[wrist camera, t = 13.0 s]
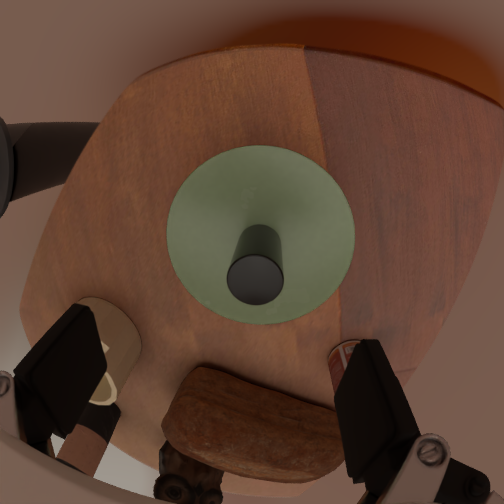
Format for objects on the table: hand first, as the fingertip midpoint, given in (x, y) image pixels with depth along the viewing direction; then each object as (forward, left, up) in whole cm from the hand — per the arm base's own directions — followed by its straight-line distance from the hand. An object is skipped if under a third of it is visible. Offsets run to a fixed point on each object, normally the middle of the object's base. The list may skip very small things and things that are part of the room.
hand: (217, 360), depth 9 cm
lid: (0, +1, -12) cm, 12 cm away
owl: (+40, -33, -22) cm, 57 cm away
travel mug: (+23, -44, -22) cm, 55 cm away
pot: (+7, -28, -22) cm, 36 cm away
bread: (+29, -12, -22) cm, 39 cm away
